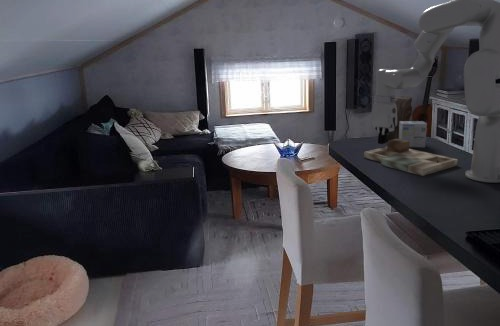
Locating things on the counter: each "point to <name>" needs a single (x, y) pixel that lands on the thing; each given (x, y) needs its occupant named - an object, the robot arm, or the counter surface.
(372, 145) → the counter surface
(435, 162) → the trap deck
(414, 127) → the light bulb box
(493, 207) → the counter surface
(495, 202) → the counter surface
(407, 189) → the counter surface
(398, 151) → the walnut block
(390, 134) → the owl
